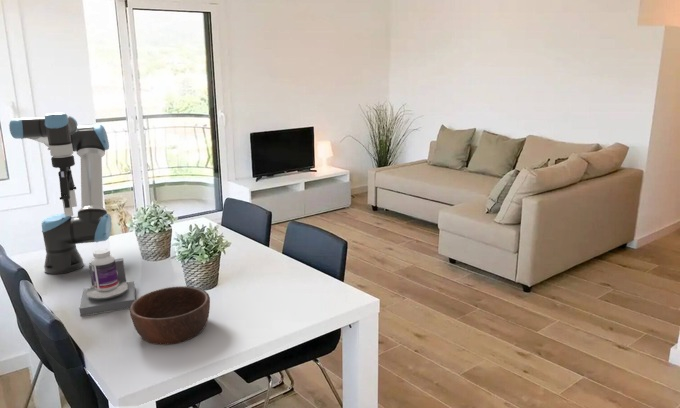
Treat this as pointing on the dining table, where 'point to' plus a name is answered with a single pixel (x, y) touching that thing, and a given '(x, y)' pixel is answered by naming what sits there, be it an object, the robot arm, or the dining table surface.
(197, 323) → the wooden bowl
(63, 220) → the robot arm
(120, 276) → the dial scale
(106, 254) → the pill bottle
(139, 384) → the dining table surface
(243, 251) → the dining table surface
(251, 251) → the dining table surface
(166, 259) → the dining table surface
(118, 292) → the scale pan
